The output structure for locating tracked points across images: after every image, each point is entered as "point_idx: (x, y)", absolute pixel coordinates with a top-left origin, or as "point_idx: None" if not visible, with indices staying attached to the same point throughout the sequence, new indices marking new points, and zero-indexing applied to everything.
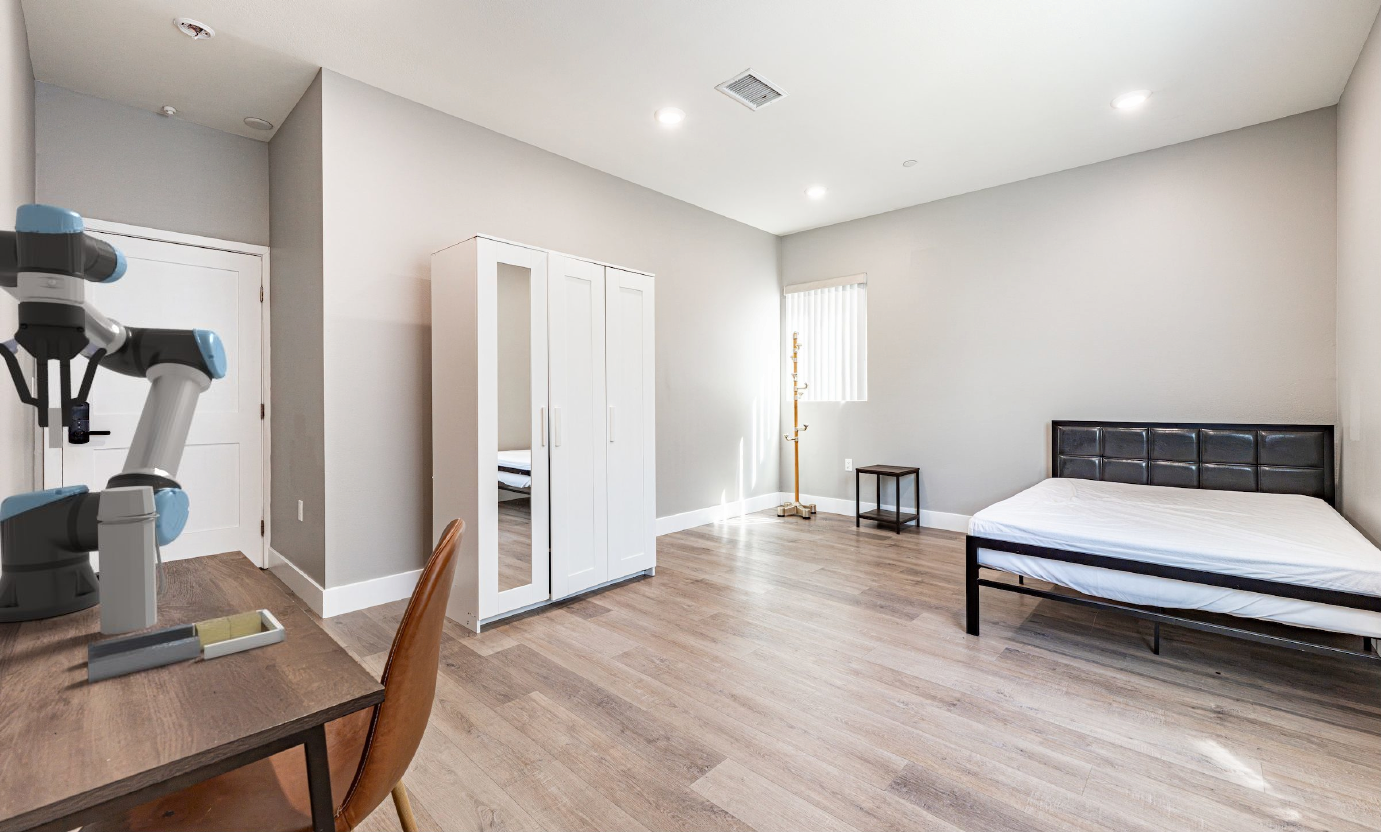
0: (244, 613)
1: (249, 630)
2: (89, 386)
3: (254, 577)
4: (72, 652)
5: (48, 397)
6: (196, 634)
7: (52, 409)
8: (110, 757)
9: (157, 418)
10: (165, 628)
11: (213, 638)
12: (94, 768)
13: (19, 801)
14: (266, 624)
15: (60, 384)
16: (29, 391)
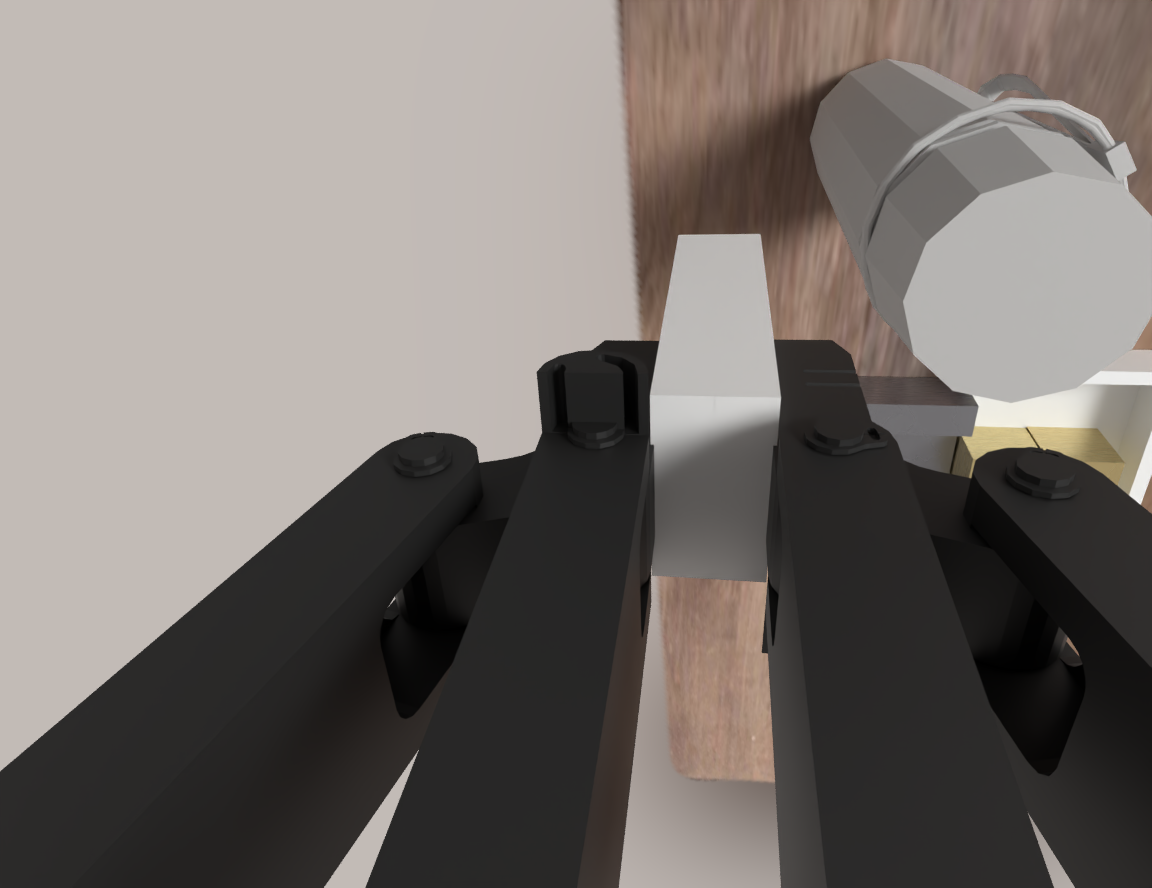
0: (1092, 466)
1: None
2: None
3: None
4: (742, 212)
5: (639, 524)
6: (961, 475)
7: (689, 565)
8: (755, 735)
9: None
10: (919, 406)
11: None
12: (738, 746)
13: (676, 757)
14: (1136, 430)
15: (781, 852)
16: (407, 547)
